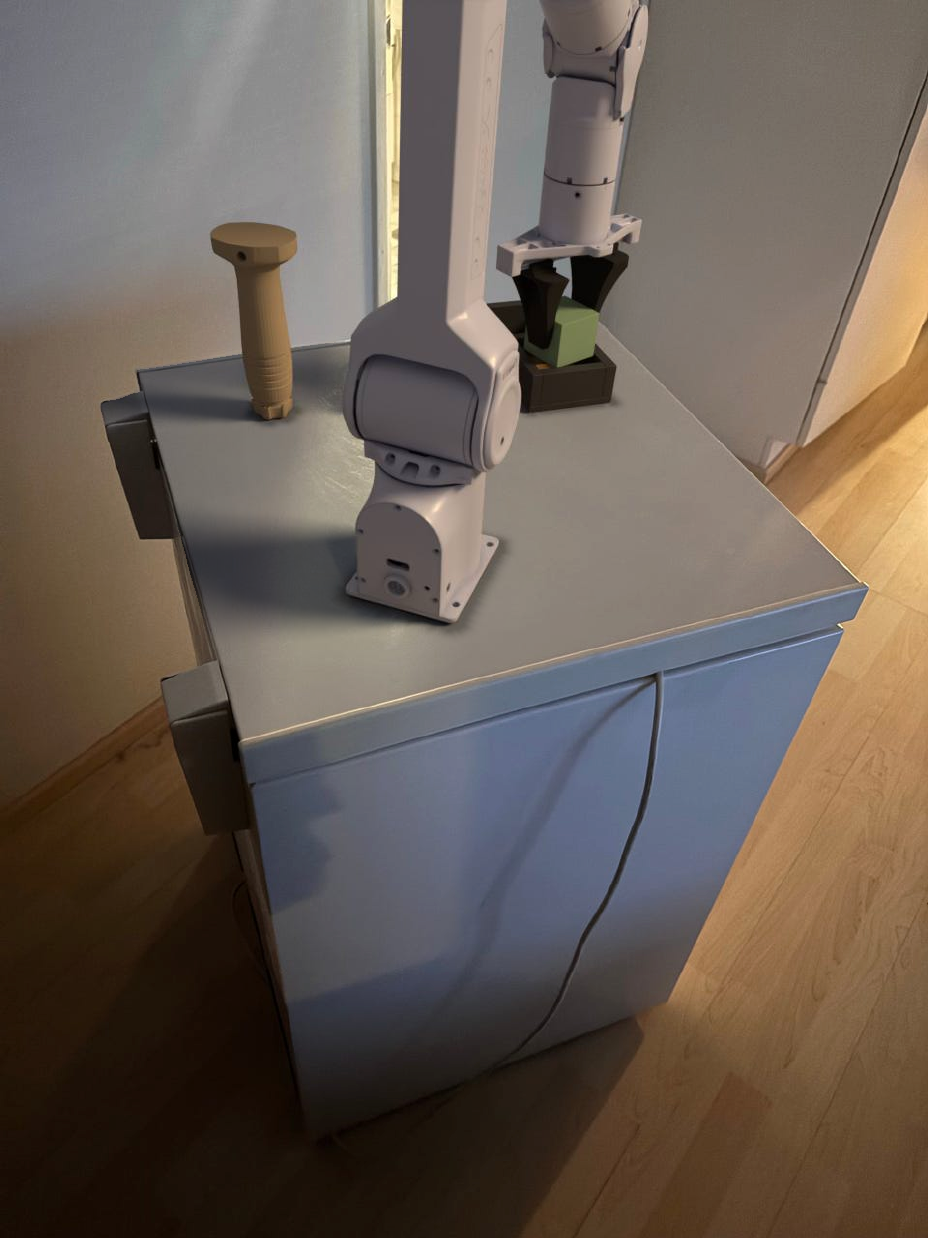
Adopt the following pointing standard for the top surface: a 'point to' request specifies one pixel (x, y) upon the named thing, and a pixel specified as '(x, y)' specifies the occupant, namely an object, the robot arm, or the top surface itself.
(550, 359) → the green cube
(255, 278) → the handle
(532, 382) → the holder
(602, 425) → the top surface
